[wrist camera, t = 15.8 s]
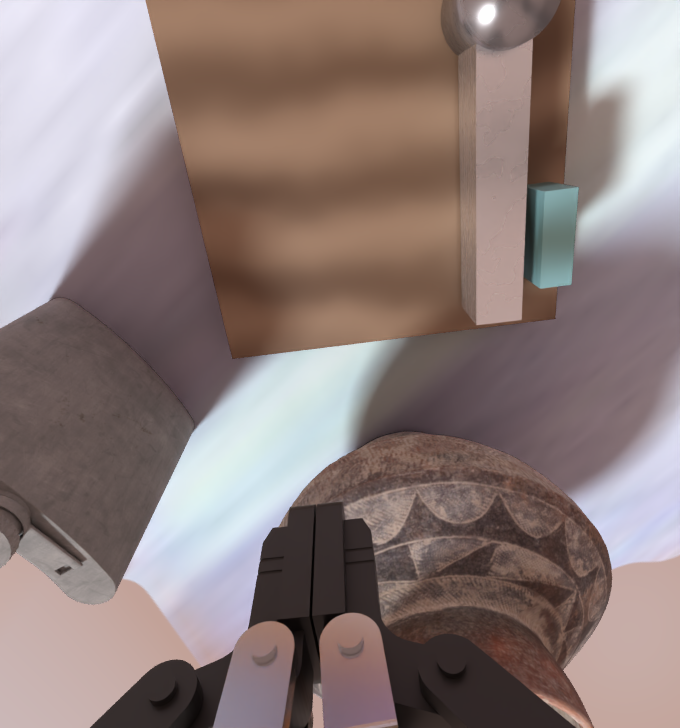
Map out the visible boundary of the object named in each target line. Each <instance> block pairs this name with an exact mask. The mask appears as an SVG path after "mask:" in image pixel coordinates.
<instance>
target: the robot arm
mask: <svg viewBox="0 0 680 728" xmlns="http://www.w3.org/2000/svg"><path fill="white" fill-rule="evenodd" d="M260 560H261V561H260V564H259V569H258V575H257V581H256V587H255V593H254V599H253V605H252V611H251V616H250V622H249V627H248V630H247V631H245V632H244V633H243V634H242V636H241V637H240V638H239V640H238V641H237V643H236V645H235V648H234V650H233V651H232V652H231V653H229V654H228V655H226V656H225V657H223V658H221V659H219V660H217V661H215V662H213V663H210V664H208V665H206V666H203V667H201V668H199V669H196V670H194V668H193V667H192V666H191V664H189V663H187V662H186V661H183V660H170V661H166V662H163V663H161V664H159V665H157V666H155V667H154V668H152V669H151V670H150V671H148V672H147V673H146V674H145V675H144V676H143V677H142V678H141V679H140V680H139V681H138V682H137V683H136V684H135V685H134V686H133V687H131V689H130V690H128V691H127V692H126V693H125V694H124V695H123V696H122V697H121V698H120V699H119V700H118V701H117V702H116V703H115V704H114V705H113V706H112V707H111V708H110V709H109V710H108V711H107V712H106V713H105V714H104V715H103V716H102V717H101V718H100V719H98V720H97V721H96V722H95V723H94V724H93V725H92V726H91V727H90V728H312V727H313V713H312V702H313V701H312V700H313V684H320V683H321V684H322V701H323V720H324V728H576V727H575V726H573V725H572V724H571V723H570V722H569V721H567V720H566V719H565V718H564V717H563V716H561V715H560V714H559V713H558V712H556V711H555V710H554V709H553V708H552V707H550V706H549V705H548V704H547V703H546V702H544V701H543V700H542V699H541V698H539V697H538V696H537V695H536V694H535V693H533V692H532V691H531V690H530V689H528V688H527V687H526V686H525V685H524V684H522V683H521V682H520V681H519V680H518V679H516V678H515V677H514V676H513V675H511V674H510V673H509V672H508V671H507V670H505V669H504V668H503V667H502V666H501V665H499V664H498V663H497V662H496V661H494V660H493V659H492V658H491V657H490V656H488V655H487V654H486V653H485V652H484V651H482V650H481V649H480V648H479V647H477V646H476V645H475V644H474V643H473V642H471V641H470V640H468V639H466V638H464V637H462V636H459V635H456V634H440V635H437V636H435V637H433V638H431V639H429V640H428V641H427V642H426V643H425V644H421V643H416V642H412V641H408V640H405V639H402V638H400V637H398V636H396V635H395V634H393V633H392V632H391V631H390V630H389V629H388V628H387V627H386V626H385V624H384V623H383V621H382V618H381V609H380V599H379V590H378V581H377V571H376V563H375V556H374V548H373V540H372V533H371V530H370V528H369V527H368V525H367V524H366V523H365V521H364V520H363V518H357V519H348V520H346V519H345V512H344V506H343V502H342V501H338V502H329V503H320V504H317V507H316V504H312V505H304V506H295V507H290V509H289V515H288V524H287V526H286V527H277V528H272V530H271V531H270V533H269V534H268V536H267V538H266V539H265V541H264V542H263V546H262V552H261V558H260Z"/></svg>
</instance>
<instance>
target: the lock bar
mask: <svg viewBox="0 0 680 728" xmlns="http://www.w3.org/2000/svg"><path fill="white" fill-rule="evenodd" d="M560 1H561V0H443V2H442V6H441V27H442V32H443V35H444V38H445V40H446V42H447V44H448V45H449V47H450V48H451V49H452V51H453V52H454V53H455V54H457V55H458V81H459V150H460V219H461V288H462V308H463V309H464V310H465V311H466V313H467V314H468V315H469V317H470V318H471V319H472V320H473V322H474V323H475V324H476V325H483V324H492V323H501V322H509V321H518V320H522V298H523V273H524V248H525V223H526V198H527V173H528V149H529V124H530V99H531V74H532V49H533V38H534V37H535V36H537V35H538V34H539V33H540V32H541V31H542V30H543V29H544V28H545V27H546V26H547V25H548V24H549V22H550V21H551V19H552V18H553V16H554V14H555V13H556V11H557V9H558V6H559V4H560Z"/></svg>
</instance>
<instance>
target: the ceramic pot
mask: <svg viewBox="0 0 680 728" xmlns="http://www.w3.org/2000/svg"><path fill="white" fill-rule="evenodd" d="M338 501H342V502H343V506H344V512H345V519H346V520H348V519H357V518H363V520H364V521H365V523H366V524H367V525H368V527H369V528H370V530H371V533H372V540H373V548H374V556H375V563H376V571H377V581H378V590H379V599H380V609H381V618H382V621H383V623H384V624H385V626H386V627H387V628H388V629H389V630H390V631H391V632H392V633H393V634H395V635H396V636H398V637H400V638H402V639H405V640H408V641H412V642H416V643H421V644H425V643H426V642H427V641H428V640H429V639H431V638H433V637H435V636H437V635H440V634H456V635H459V636H462V637H464V638H466V639H468V640H470V641H471V642H473V643H474V644H475V645H476V646H477V647H479V648H480V649H481V650H482V651H484V652H485V653H486V654H487V655H488V656H490V657H491V658H492V659H493V660H494V661H496V662H497V663H498V664H499V665H501V666H502V667H503V668H504V669H505V670H507V671H508V672H509V673H510V674H511V675H513V676H514V677H515V678H516V679H518V680H519V681H520V682H521V683H522V684H524V685H525V686H526V687H527V688H528V689H530V690H531V691H532V692H533V693H535V694H536V695H537V696H538V697H539V698H541V699H542V700H543V701H544V702H546V703H547V704H548V705H549V706H550V707H552V708H553V709H554V710H555V711H556V712H558V713H559V714H560V715H561V716H563V717H564V718H565V719H566V720H567V721H569V722H570V723H571V724H572V725H573V726H575V727H576V728H594V727H593V725H592V722H591V720H590V718H589V716H588V714H587V712H586V709H585V708H584V705H583V703H582V701H581V699H580V697H579V696H578V694H577V692H576V690H575V688H574V687H573V685H572V683H571V682H570V680H569V679H568V678H567V676H566V674H565V673H564V671H563V669H564V668H565V667H566V666H567V665H568V664H569V663H570V662H571V660H572V659H573V658H574V657H575V656H576V654H577V653H578V652H579V651H580V650H581V648H582V647H583V645H584V644H585V643H586V641H587V640H588V639H589V637H590V636H591V635H592V633H593V632H594V630H595V628H596V627H597V625H598V623H599V621H600V620H601V618H602V616H603V613H604V611H605V609H606V606H607V604H608V601H609V596H610V592H611V587H612V573H611V563H610V558H609V554H608V550H607V547H606V545H605V543H604V541H603V539H602V537H601V535H600V533H599V532H598V530H597V529H596V528H595V526H594V525H593V524H592V523H591V522H590V520H589V519H588V518H587V516H586V515H585V514H584V513H583V512H582V510H581V509H580V508H579V507H578V506H577V505H576V503H575V502H574V501H573V500H572V499H571V498H570V497H568V496H567V495H566V494H565V493H564V492H563V491H562V490H560V489H559V488H558V487H557V486H556V485H554V484H553V483H552V482H551V481H550V480H548V479H547V478H545V477H544V476H543V475H542V474H540V473H538V472H537V471H536V470H534V469H533V468H531V467H530V466H529V465H527V464H525V463H524V462H522V461H520V460H519V459H517V458H514V457H513V456H511V455H508V454H506V453H504V452H501V451H499V450H496V449H493V448H491V447H488V446H485V445H483V444H480V443H477V442H473V441H468V440H466V439H462V438H457V437H451V436H444V435H430V434H425V433H423V432H421V433H419V432H415V431H414V432H407V431H403V432H400V433H393V434H389V435H385V436H382V437H379V438H377V439H375V440H373V441H371V442H369V443H367V444H365V445H364V446H362V447H361V448H359V449H357V450H355V451H353V452H351V453H349V454H347V455H346V456H343V457H342V458H340V459H338V460H337V461H335V462H334V463H332V464H330V465H329V466H328V467H326V468H325V469H324V470H323V471H322V472H321V473H319V474H318V475H317V476H316V477H315V478H314V479H313V480H312V481H311V482H310V483H309V484H308V485H307V486H306V487H305V488H304V490H303V491H302V492H301V494H300V495H299V496H298V498H297V499H296V500H295V502H294V503H293V505H292V506H291V507H295V506H304V505H312V504H316V507H317V504H320V503H329V502H338ZM288 515H289V510H288V512H287V513H286V515H285V517H284V518H283V520H282V522H281V524H280V526H279V527H286V526H287V524H288ZM313 693H314V694H316V695H317V696H318V697H320V698H322V684H321V683H320V684H313Z"/></svg>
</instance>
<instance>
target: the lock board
mask: <svg viewBox="0 0 680 728" xmlns="http://www.w3.org/2000/svg"><path fill="white" fill-rule="evenodd" d="M442 2H443V0H146V4H147V8H148V13H149V17H150V21H151V25H152V29H153V33H154V37H155V41H156V46H157V50H158V54H159V58H160V62H161V66H162V70H163V74H164V79H165V83H166V87H167V91H168V95H169V99H170V103H171V107H172V112H173V116H174V120H175V124H176V128H177V132H178V136H179V140H180V145H181V149H182V153H183V157H184V161H185V165H186V169H187V173H188V178H189V182H190V186H191V190H192V194H193V198H194V202H195V206H196V211H197V215H198V219H199V223H200V227H201V231H202V235H203V239H204V244H205V248H206V252H207V256H208V260H209V264H210V268H211V272H212V277H213V281H214V285H215V289H216V293H217V297H218V301H219V305H220V310H221V314H222V318H223V322H224V326H225V330H226V334H227V338H228V343H229V347H230V351H231V355H232V359H236V358H244V357H252V356H260V355H268V354H276V353H284V352H292V351H300V350H308V349H317V348H325V347H333V346H341V345H349V344H357V343H365V342H373V341H381V340H389V339H397V338H405V337H413V336H421V335H429V334H437V333H445V332H453V331H461V330H469V329H478V328H486V327H494V326H502V325H510V324H518V323H526V322H534V321H542V320H550V319H555V315H556V299H557V287H558V286H566V285H571V283H572V270H573V256H574V243H575V230H576V216H577V203H578V190H579V187H575V186H570V185H564V172H565V156H566V140H567V124H568V108H569V92H570V77H571V61H572V45H573V29H574V13H575V0H561V1H560V4H559V6H558V9H557V11H556V13H555V14H554V16H553V18H552V19H551V21H550V22H549V24H548V25H547V26H546V27H545V28H544V29H543V30H542V31H541V32H540V33H539V34H538V35H537V36H535V37H534V38H533V49H532V74H531V99H530V124H529V149H528V173H527V198H526V223H525V248H524V273H523V298H522V320H518V321H509V322H501V323H492V324H483V325H476V324H475V323H474V322H473V320H472V319H471V318H470V317H469V315H468V314H467V313H466V311H465V310H464V309H463V308H462V288H461V219H460V150H459V81H458V55H457V54H455V53H454V52H453V51H452V49H451V48H450V47H449V45H448V44H447V42H446V40H445V38H444V35H443V32H442V27H441V6H442Z"/></svg>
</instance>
